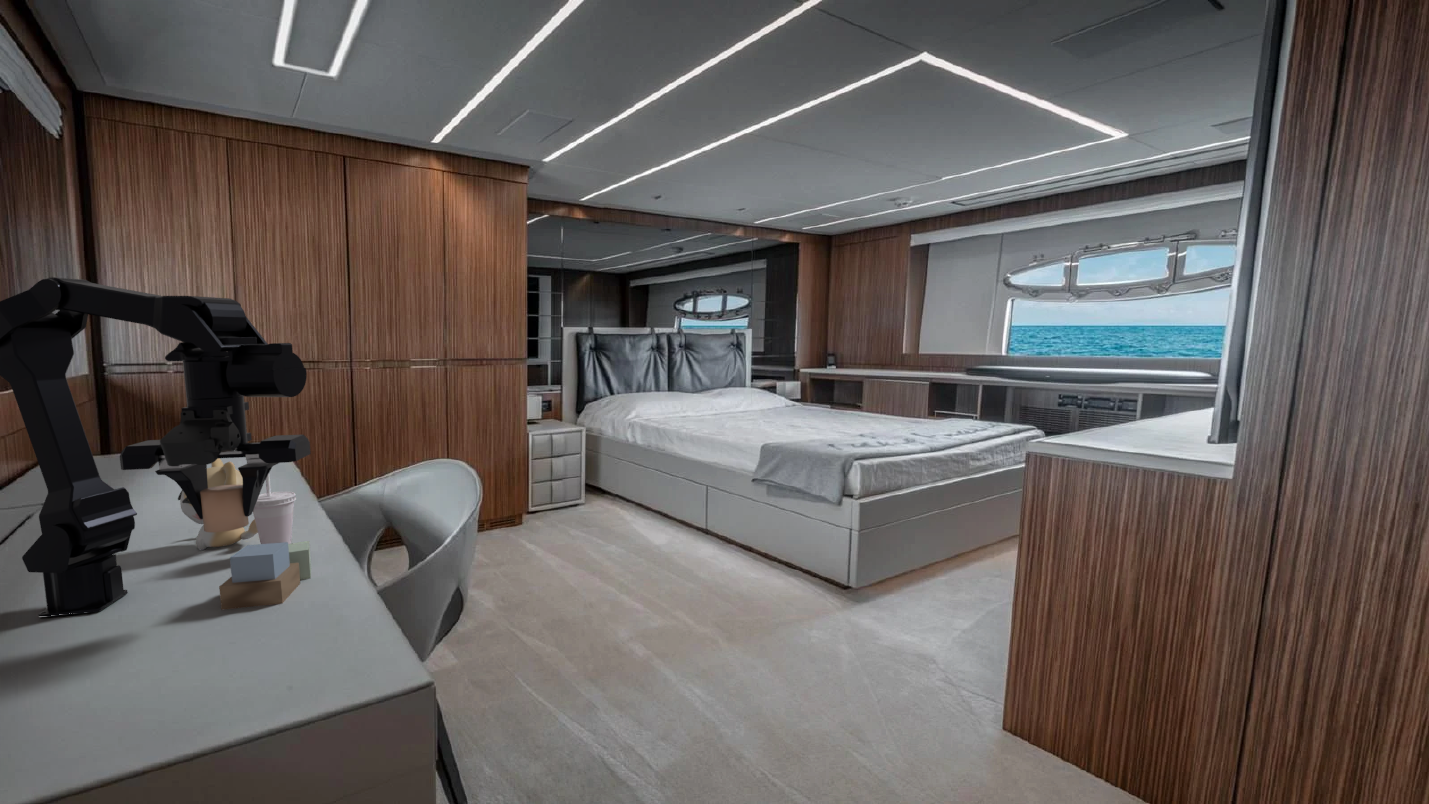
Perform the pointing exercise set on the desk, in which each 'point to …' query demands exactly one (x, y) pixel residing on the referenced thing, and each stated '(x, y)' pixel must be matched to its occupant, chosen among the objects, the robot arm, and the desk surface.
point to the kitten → (215, 477)
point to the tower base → (260, 590)
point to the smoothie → (274, 515)
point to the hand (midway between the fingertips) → (226, 517)
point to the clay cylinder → (223, 508)
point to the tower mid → (259, 562)
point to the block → (301, 558)
